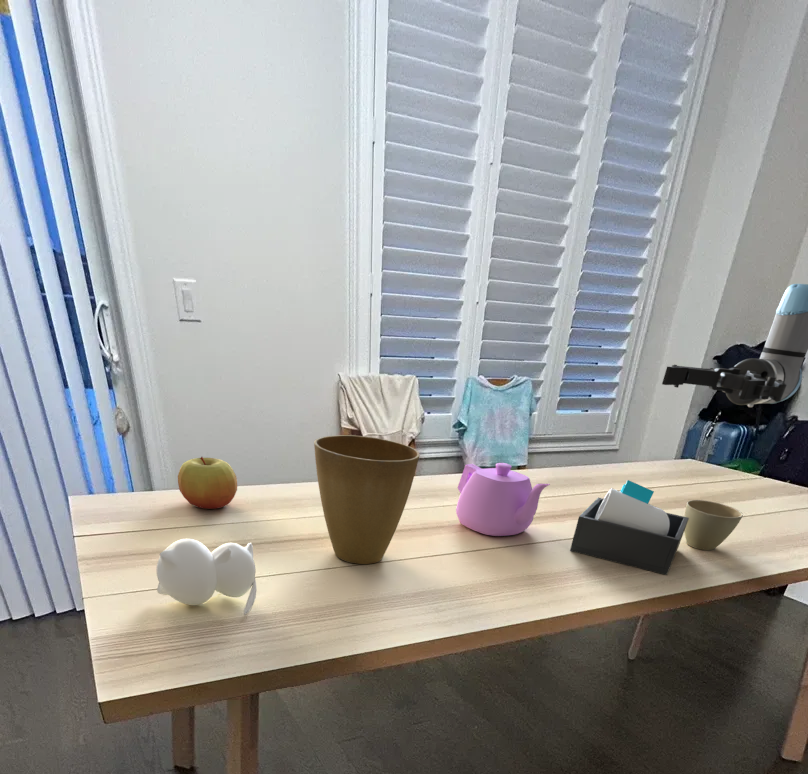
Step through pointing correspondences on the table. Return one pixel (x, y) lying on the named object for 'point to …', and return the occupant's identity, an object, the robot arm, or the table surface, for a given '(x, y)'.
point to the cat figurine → (206, 572)
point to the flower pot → (709, 523)
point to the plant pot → (363, 492)
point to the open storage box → (627, 541)
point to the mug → (633, 509)
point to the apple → (207, 482)
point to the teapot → (496, 500)
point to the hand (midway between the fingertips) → (704, 382)
